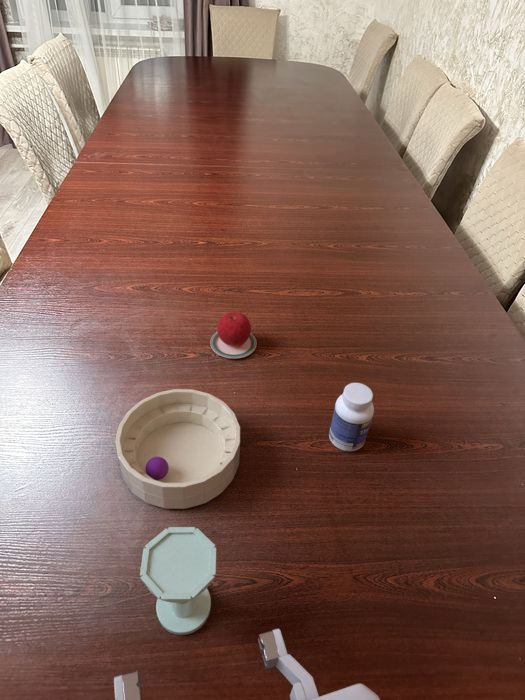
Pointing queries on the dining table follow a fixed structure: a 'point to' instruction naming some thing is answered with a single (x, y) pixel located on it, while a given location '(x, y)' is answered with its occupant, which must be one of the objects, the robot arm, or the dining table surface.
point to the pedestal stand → (180, 577)
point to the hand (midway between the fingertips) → (199, 654)
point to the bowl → (179, 447)
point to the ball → (157, 468)
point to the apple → (233, 337)
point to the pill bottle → (352, 417)
